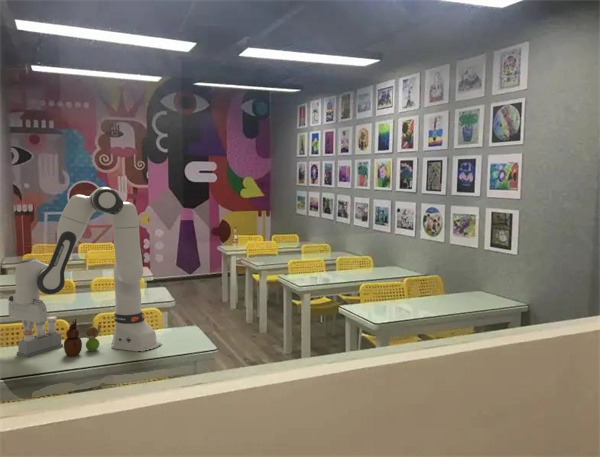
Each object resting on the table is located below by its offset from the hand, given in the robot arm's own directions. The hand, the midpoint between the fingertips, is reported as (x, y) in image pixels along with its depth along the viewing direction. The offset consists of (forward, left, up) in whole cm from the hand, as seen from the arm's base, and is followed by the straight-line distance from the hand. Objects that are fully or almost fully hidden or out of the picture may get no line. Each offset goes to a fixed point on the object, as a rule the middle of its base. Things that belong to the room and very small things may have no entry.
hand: (28, 330), depth 215 cm
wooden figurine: (-17, -8, -10) cm, 21 cm away
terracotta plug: (0, 0, -8) cm, 8 cm away
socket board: (0, -6, -10) cm, 11 cm away
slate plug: (0, -6, -5) cm, 7 cm away
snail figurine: (-19, -17, -10) cm, 27 cm away
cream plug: (0, -11, -5) cm, 12 cm away
